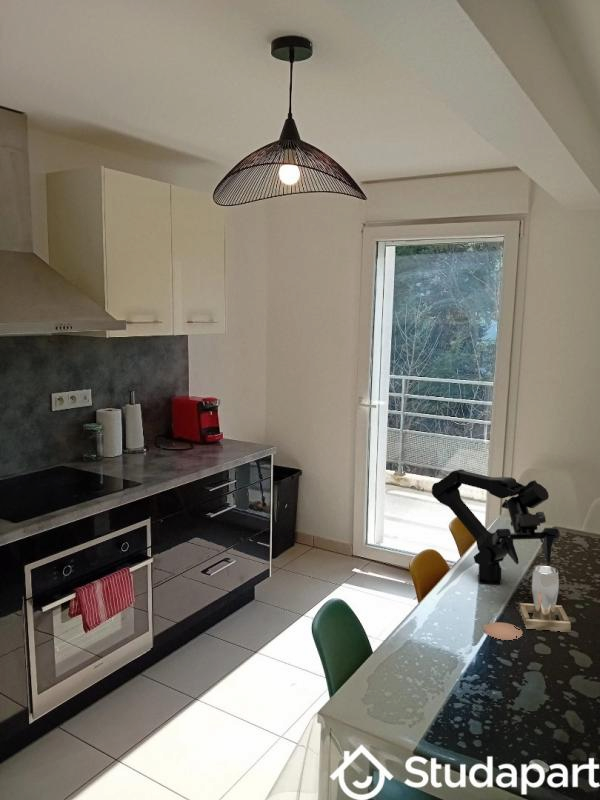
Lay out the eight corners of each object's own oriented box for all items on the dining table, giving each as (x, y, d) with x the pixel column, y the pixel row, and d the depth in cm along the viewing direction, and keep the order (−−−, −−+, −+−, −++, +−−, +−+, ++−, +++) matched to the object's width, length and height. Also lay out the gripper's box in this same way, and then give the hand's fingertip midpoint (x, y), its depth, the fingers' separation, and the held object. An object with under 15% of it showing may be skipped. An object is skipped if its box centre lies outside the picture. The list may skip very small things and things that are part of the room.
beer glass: (529, 624, 175) (530, 571, 174) (532, 614, 181) (533, 563, 180) (556, 629, 172) (557, 576, 170) (558, 618, 178) (560, 567, 177)
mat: (485, 639, 167) (485, 638, 167) (482, 622, 177) (482, 621, 177) (525, 641, 165) (525, 640, 165) (519, 624, 175) (519, 623, 175)
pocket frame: (526, 629, 172) (526, 620, 172) (519, 611, 183) (519, 603, 183) (570, 632, 170) (570, 623, 170) (561, 613, 181) (561, 605, 181)
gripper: (496, 502, 187) (508, 551, 177) (558, 501, 188) (574, 549, 178) (487, 521, 196) (498, 568, 186) (546, 519, 196) (561, 566, 186)
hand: (533, 563), depth 184 cm, fingers open, 9 cm apart
